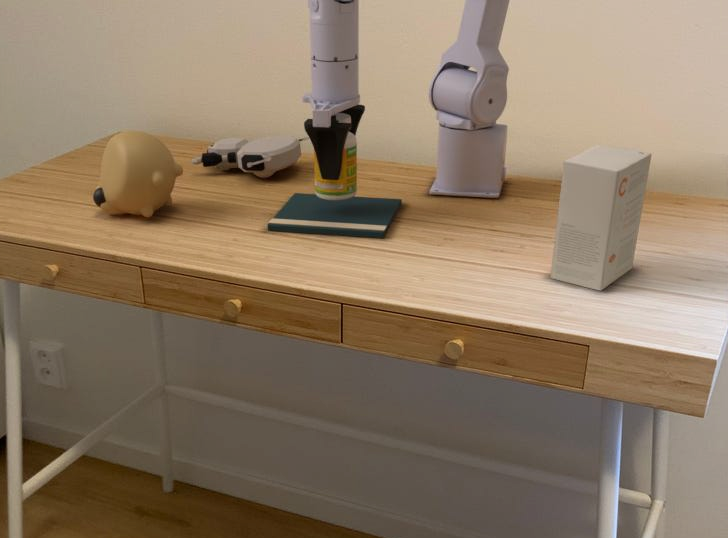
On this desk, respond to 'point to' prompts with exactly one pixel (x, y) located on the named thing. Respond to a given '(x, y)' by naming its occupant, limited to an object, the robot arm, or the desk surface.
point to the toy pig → (136, 175)
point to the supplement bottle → (348, 175)
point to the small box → (599, 215)
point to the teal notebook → (336, 216)
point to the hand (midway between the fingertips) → (336, 171)
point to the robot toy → (253, 154)
